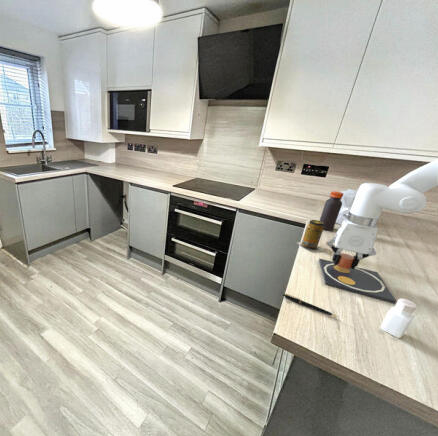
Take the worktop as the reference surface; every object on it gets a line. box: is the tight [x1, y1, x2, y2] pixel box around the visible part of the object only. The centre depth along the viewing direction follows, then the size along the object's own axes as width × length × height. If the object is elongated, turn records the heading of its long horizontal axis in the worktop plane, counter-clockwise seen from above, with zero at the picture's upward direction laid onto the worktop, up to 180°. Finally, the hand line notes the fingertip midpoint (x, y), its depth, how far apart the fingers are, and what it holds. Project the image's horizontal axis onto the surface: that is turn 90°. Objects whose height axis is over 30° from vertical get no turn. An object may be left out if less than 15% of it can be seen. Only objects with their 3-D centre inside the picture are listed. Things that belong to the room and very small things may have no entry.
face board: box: [318, 257, 397, 304], centre depth 83 cm, size 18×18×1 cm
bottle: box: [319, 190, 343, 232], centre depth 123 cm, size 7×7×20 cm
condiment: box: [297, 219, 326, 253], centre depth 103 cm, size 7×8×12 cm
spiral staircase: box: [335, 188, 359, 226], centre depth 135 cm, size 18×18×25 cm
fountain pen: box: [282, 293, 339, 318], centre depth 69 cm, size 14×1×2 cm, turn 52°
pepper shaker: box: [380, 298, 418, 339], centre depth 60 cm, size 4×4×10 cm
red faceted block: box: [337, 252, 354, 269], centre depth 86 cm, size 4×4×4 cm
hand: (343, 264), depth 87 cm, fingers closed on red faceted block, 4 cm apart
